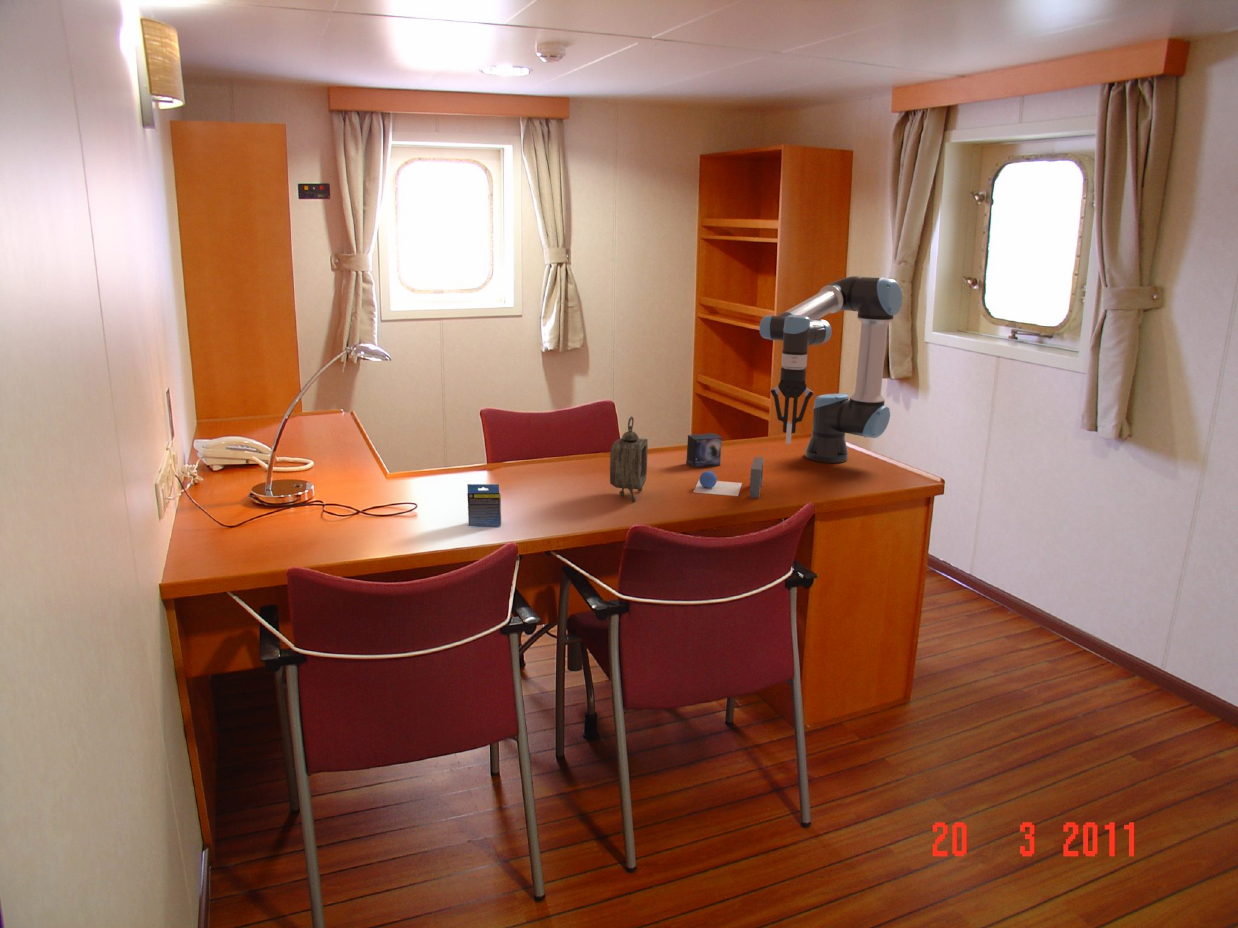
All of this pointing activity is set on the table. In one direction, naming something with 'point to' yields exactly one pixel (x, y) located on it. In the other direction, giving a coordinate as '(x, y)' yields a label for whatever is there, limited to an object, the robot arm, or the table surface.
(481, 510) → the label tape cartridge
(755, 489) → the bridge
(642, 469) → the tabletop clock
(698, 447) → the small box
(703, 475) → the ball
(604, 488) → the table surface
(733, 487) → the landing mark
